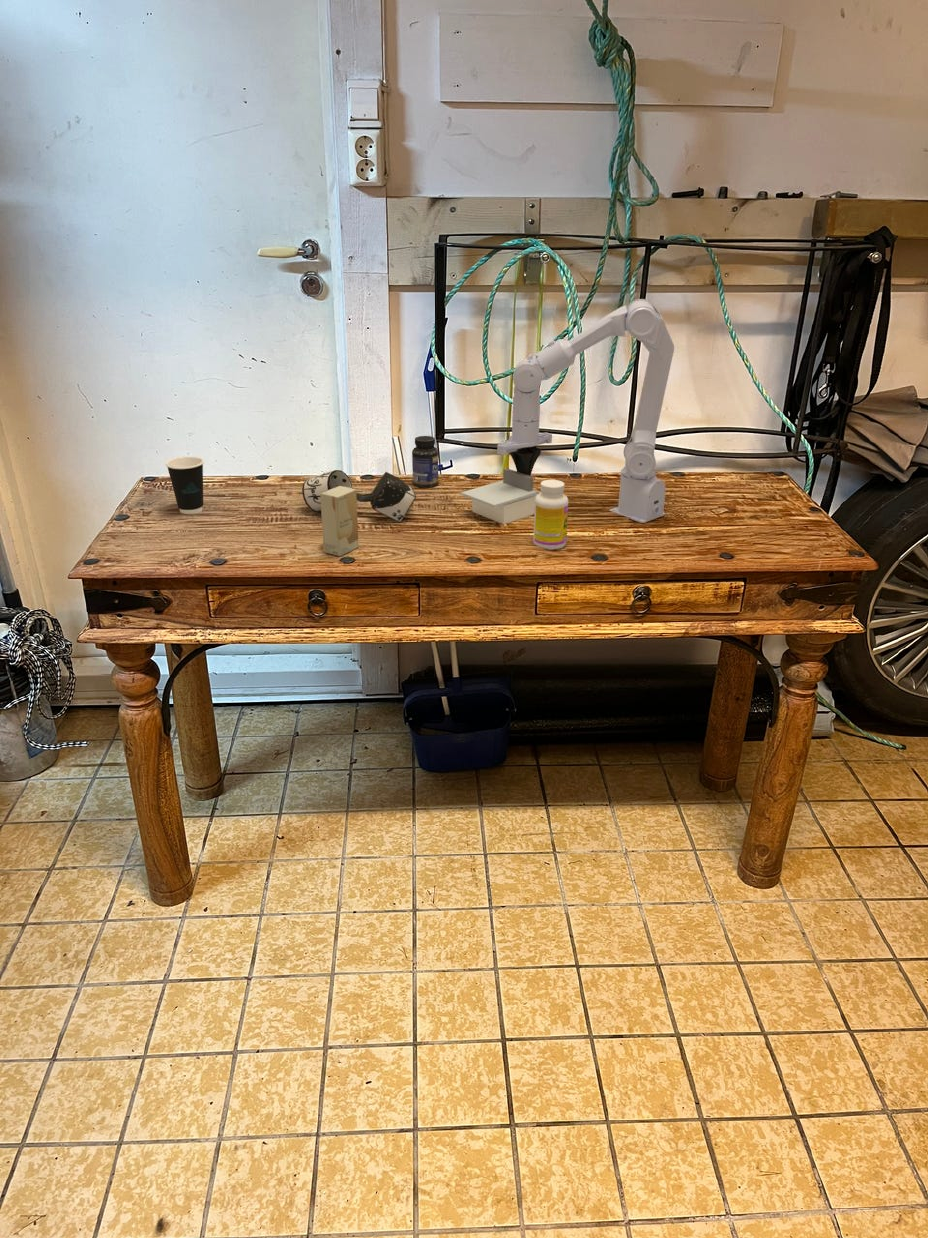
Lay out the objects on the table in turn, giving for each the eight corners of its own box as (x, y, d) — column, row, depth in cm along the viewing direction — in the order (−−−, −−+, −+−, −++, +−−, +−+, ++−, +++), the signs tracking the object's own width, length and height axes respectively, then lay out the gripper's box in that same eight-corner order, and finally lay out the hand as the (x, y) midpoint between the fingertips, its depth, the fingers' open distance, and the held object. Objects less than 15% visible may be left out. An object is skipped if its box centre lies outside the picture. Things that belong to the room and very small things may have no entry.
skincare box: (340, 557, 184) (336, 497, 178) (322, 552, 186) (318, 493, 180) (360, 546, 189) (357, 488, 183) (343, 542, 191) (339, 484, 185)
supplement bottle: (567, 551, 187) (570, 489, 181) (534, 550, 187) (536, 488, 181) (564, 538, 193) (568, 478, 187) (532, 538, 193) (534, 477, 187)
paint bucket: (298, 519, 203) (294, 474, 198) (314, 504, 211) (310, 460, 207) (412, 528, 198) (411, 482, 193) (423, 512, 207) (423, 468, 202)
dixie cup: (189, 501, 212) (183, 454, 207) (217, 507, 208) (211, 459, 203) (164, 513, 205) (157, 464, 200) (193, 519, 202) (186, 469, 197)
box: (511, 501, 213) (512, 481, 210) (543, 513, 206) (544, 492, 204) (472, 513, 205) (472, 493, 203) (503, 526, 199) (504, 505, 197)
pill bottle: (437, 488, 220) (437, 442, 215) (411, 488, 220) (410, 442, 215) (439, 479, 226) (438, 434, 221) (413, 479, 226) (412, 434, 221)
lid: (503, 482, 209) (503, 466, 207) (536, 494, 202) (537, 478, 200) (461, 495, 202) (461, 478, 200) (494, 507, 195) (494, 491, 193)
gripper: (536, 409, 206) (534, 469, 212) (487, 420, 198) (486, 483, 204) (560, 415, 202) (557, 476, 208) (511, 427, 193) (509, 491, 199)
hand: (523, 480), depth 206 cm, fingers closed
